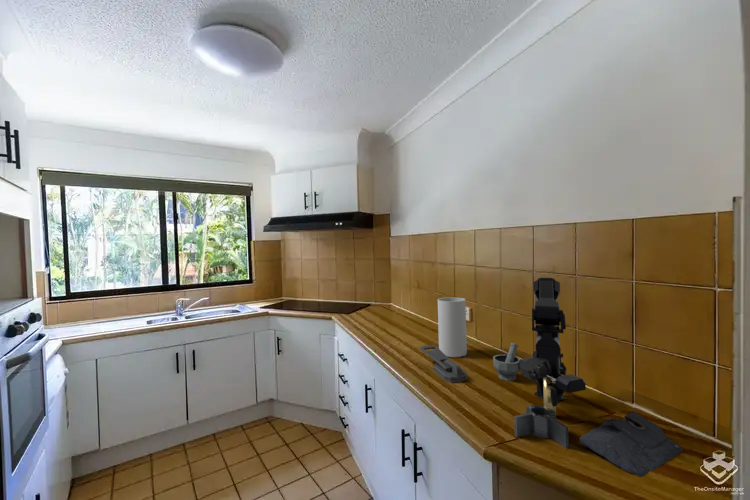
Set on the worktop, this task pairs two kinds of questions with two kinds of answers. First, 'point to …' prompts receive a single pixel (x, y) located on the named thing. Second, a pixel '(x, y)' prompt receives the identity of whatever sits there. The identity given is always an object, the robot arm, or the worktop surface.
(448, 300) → the cylinder vase
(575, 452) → the worktop surface
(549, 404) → the brass pin
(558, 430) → the grey hollow finned part
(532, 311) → the robot arm
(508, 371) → the mortar and pestle
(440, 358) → the zipper pull
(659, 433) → the dark slate chunk
